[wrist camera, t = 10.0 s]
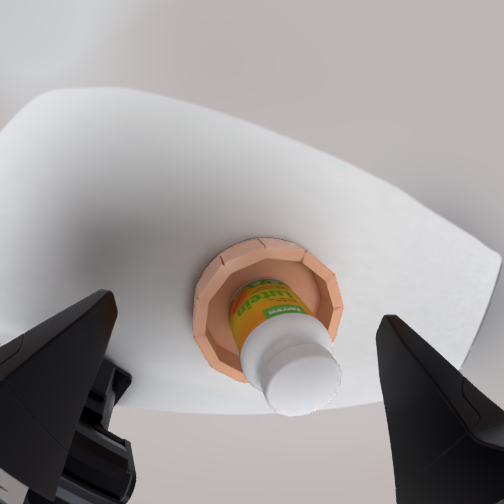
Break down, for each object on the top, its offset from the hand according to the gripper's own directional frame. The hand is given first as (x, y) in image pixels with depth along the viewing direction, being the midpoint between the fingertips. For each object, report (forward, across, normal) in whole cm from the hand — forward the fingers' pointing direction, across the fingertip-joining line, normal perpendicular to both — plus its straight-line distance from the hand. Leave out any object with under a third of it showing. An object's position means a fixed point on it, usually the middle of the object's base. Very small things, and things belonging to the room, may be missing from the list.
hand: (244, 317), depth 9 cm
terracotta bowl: (+11, -1, +9) cm, 14 cm away
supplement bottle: (+11, -1, +9) cm, 14 cm away
